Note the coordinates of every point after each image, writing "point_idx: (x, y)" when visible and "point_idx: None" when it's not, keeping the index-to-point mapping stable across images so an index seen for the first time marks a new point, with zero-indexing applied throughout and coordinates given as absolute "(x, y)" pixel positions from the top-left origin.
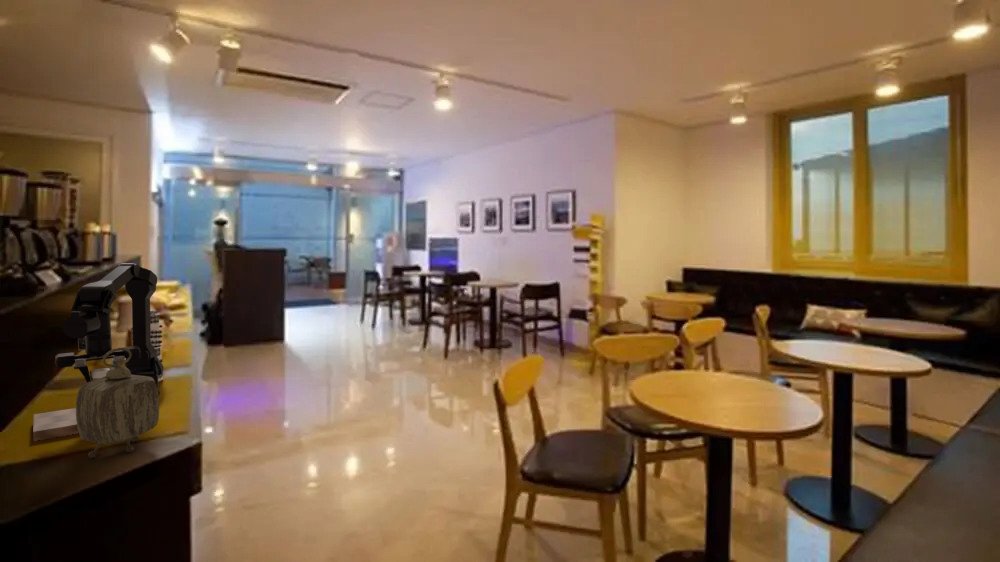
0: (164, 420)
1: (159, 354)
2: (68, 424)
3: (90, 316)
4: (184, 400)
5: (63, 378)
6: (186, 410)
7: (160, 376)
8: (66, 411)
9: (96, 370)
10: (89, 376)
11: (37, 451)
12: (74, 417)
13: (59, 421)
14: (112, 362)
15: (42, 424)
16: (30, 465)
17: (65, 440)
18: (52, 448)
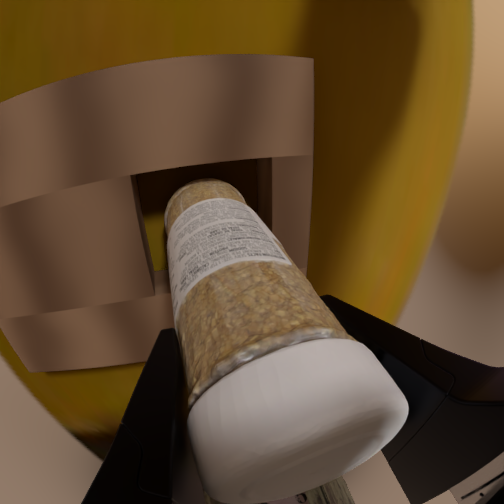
0: (366, 301)
1: None
2: (105, 353)
3: None
4: (456, 113)
5: None
6: (429, 232)
7: None
8: (34, 137)
9: (276, 487)
10: (199, 483)
11: (85, 406)
12: (95, 273)
13: (55, 305)
14: (449, 475)
15: (13, 313)
16: (110, 446)
17: (119, 372)
18: (110, 404)
